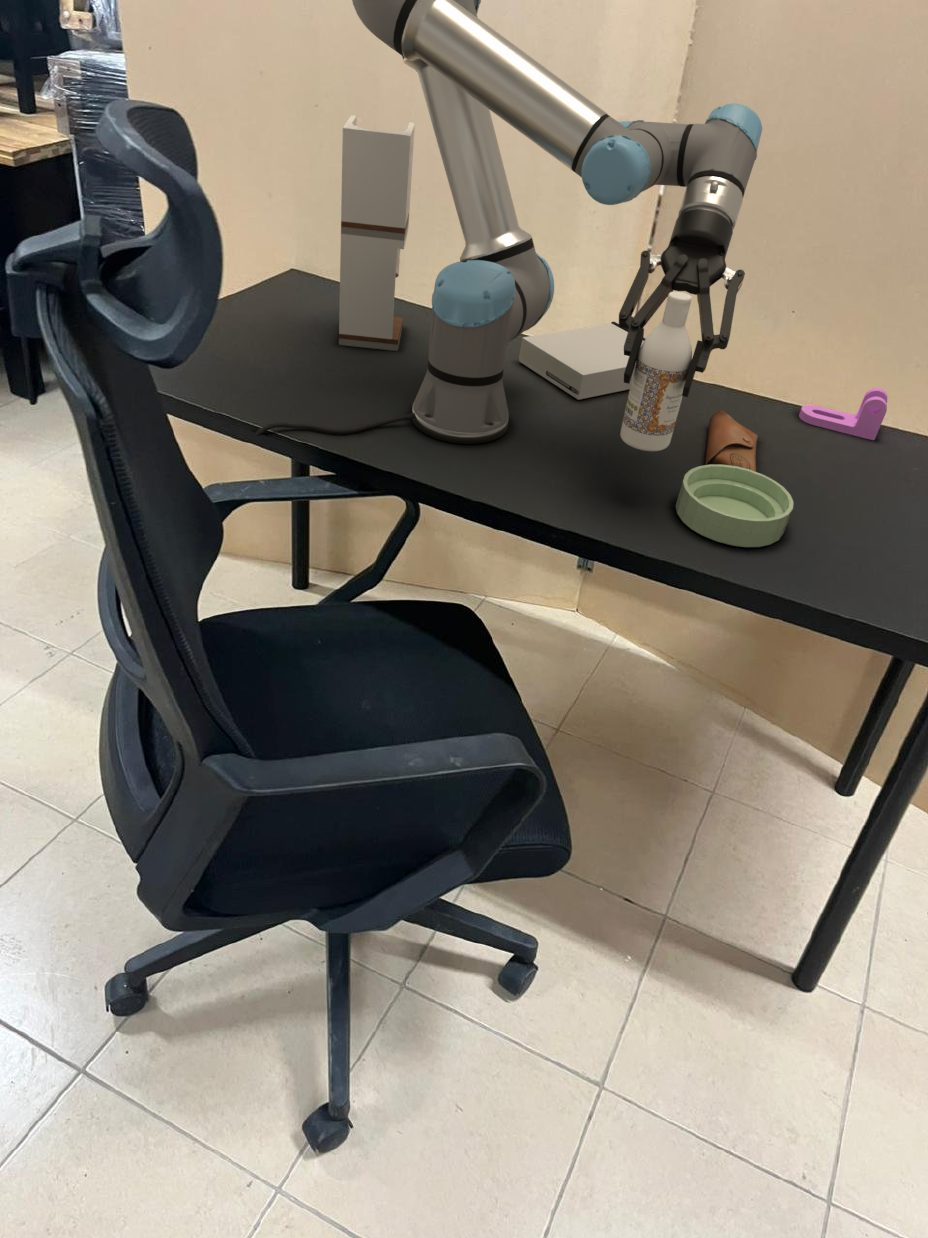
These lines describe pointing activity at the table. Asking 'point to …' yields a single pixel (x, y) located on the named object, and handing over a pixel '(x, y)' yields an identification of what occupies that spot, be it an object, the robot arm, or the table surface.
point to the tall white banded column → (373, 232)
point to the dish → (734, 505)
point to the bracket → (851, 416)
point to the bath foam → (659, 379)
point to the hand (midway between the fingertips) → (656, 385)
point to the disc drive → (580, 359)
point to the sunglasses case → (730, 443)
